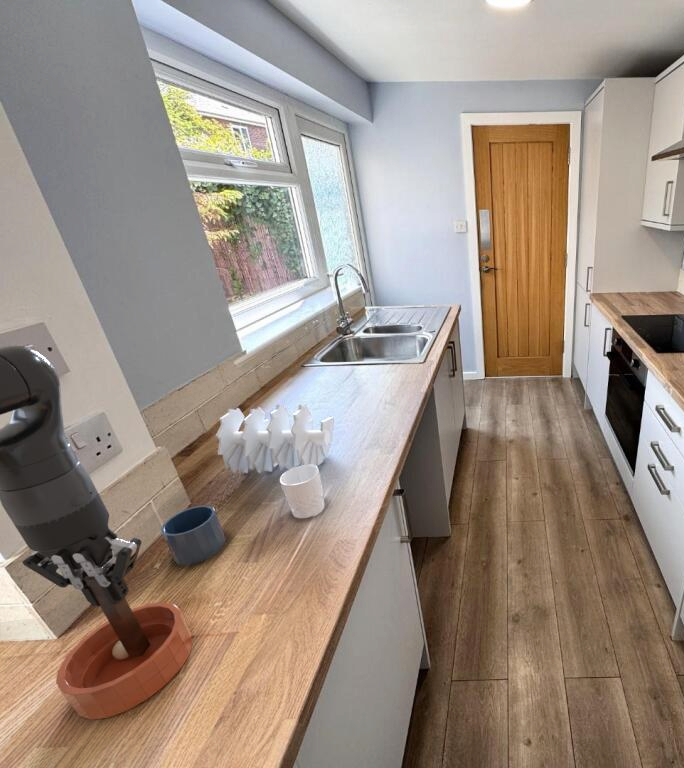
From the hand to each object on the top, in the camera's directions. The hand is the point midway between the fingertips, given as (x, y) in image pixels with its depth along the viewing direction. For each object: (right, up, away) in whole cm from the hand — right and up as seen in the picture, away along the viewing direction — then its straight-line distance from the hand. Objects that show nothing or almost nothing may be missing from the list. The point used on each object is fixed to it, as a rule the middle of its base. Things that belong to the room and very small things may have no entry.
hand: (111, 599), depth 58 cm
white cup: (+10, +1, +36) cm, 38 cm away
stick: (0, -10, +4) cm, 11 cm away
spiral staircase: (-5, +8, +53) cm, 54 cm away
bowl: (+1, -12, +3) cm, 13 cm away
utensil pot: (-7, -3, +25) cm, 26 cm away
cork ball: (-2, -10, +4) cm, 11 cm away
